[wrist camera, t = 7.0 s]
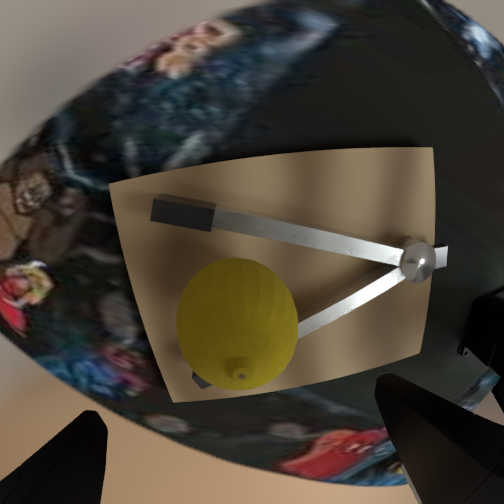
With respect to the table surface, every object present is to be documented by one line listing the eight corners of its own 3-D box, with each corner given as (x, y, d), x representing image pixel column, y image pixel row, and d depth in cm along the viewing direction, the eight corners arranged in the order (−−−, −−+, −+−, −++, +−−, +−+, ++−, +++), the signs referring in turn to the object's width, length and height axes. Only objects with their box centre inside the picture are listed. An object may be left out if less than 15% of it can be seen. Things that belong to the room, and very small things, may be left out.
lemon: (172, 256, 16) (136, 332, 9) (267, 227, 16) (304, 285, 9) (204, 335, 18) (198, 434, 11) (289, 311, 18) (328, 402, 11)
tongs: (433, 165, 16) (455, 167, 14) (425, 321, 20) (441, 335, 18) (156, 194, 15) (145, 199, 13) (197, 368, 19) (195, 390, 17)
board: (422, 147, 17) (432, 147, 16) (412, 345, 22) (419, 353, 21) (115, 182, 16) (108, 184, 15) (175, 392, 21) (173, 402, 20)
